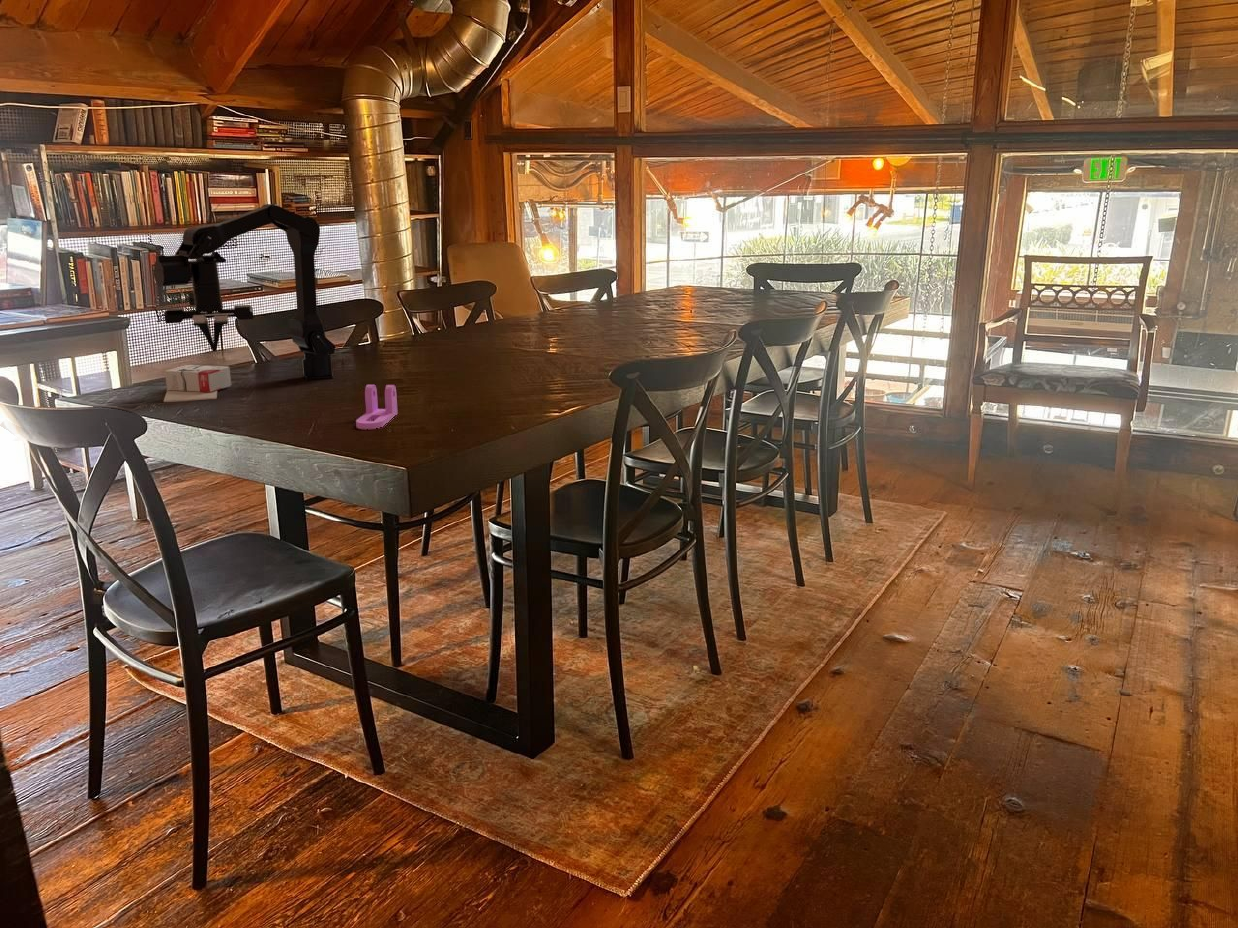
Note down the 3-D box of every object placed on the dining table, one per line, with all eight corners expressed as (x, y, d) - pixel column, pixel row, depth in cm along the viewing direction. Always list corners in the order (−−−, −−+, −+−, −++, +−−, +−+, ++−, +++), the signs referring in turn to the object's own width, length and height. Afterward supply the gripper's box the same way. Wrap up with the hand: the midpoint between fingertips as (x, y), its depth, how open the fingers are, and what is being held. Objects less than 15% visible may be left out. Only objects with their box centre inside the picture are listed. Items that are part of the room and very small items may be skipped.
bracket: (371, 415, 199) (369, 383, 197) (397, 415, 199) (395, 383, 197) (352, 429, 186) (350, 395, 185) (380, 430, 186) (378, 396, 184)
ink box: (208, 372, 216) (163, 370, 218) (210, 393, 217) (165, 390, 219) (230, 366, 224) (186, 364, 226) (232, 385, 225) (188, 383, 227)
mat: (217, 385, 227) (217, 384, 227) (216, 398, 213) (216, 397, 212) (168, 388, 223) (168, 387, 223) (163, 402, 209) (163, 401, 209)
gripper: (249, 278, 223) (256, 343, 228) (163, 281, 217) (173, 348, 221) (249, 283, 213) (257, 350, 218) (159, 286, 207) (169, 355, 211)
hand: (214, 351), depth 217 cm, fingers closed
